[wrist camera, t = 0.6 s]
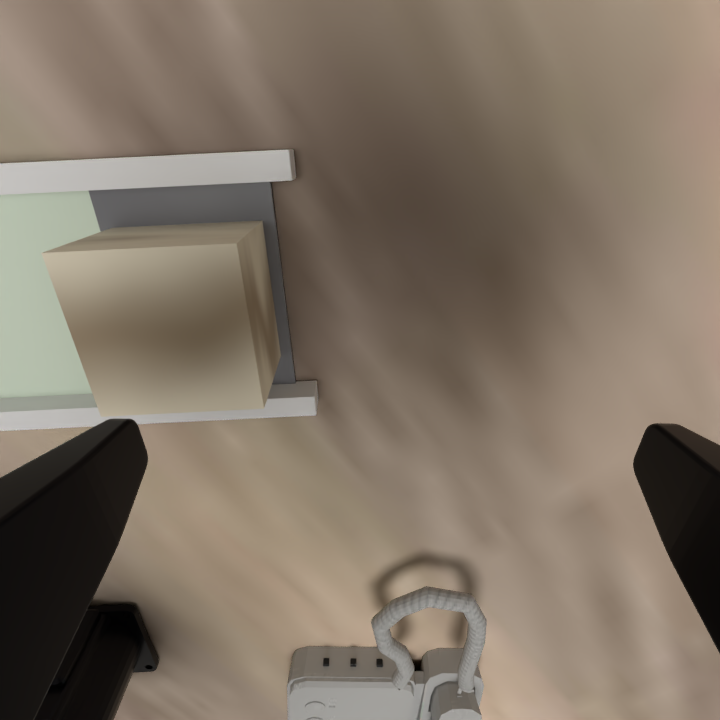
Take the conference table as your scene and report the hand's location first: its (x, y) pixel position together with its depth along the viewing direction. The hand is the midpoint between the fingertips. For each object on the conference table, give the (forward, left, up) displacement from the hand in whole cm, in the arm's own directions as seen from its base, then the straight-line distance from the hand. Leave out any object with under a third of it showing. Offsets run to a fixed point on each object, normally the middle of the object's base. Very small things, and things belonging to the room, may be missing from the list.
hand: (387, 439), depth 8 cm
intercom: (-30, 0, -13) cm, 32 cm away
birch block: (-1, +7, -12) cm, 14 cm away
